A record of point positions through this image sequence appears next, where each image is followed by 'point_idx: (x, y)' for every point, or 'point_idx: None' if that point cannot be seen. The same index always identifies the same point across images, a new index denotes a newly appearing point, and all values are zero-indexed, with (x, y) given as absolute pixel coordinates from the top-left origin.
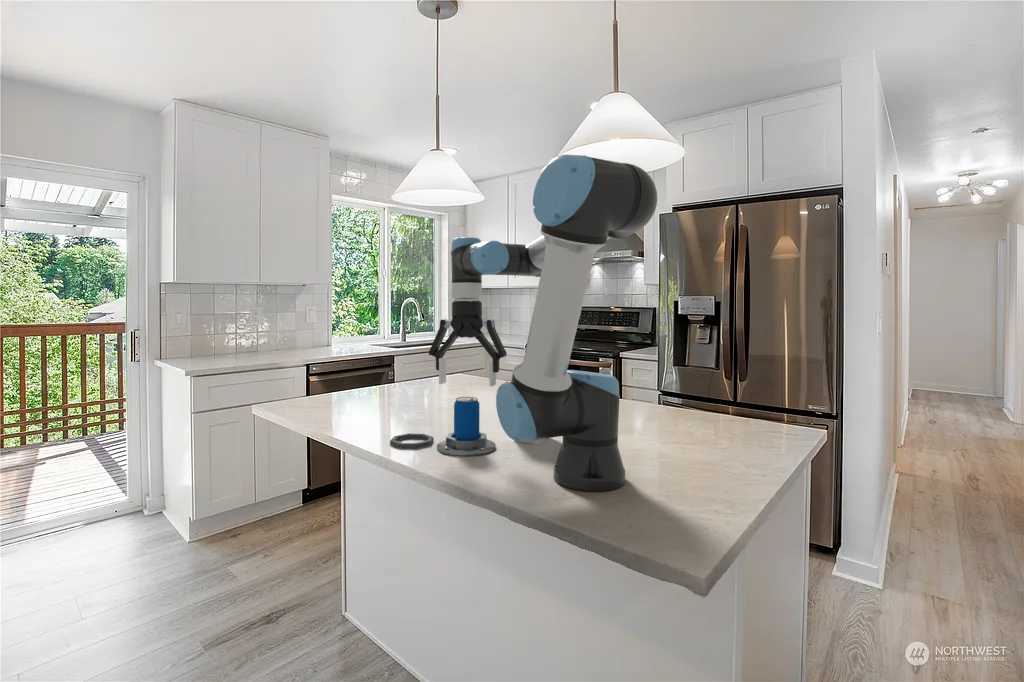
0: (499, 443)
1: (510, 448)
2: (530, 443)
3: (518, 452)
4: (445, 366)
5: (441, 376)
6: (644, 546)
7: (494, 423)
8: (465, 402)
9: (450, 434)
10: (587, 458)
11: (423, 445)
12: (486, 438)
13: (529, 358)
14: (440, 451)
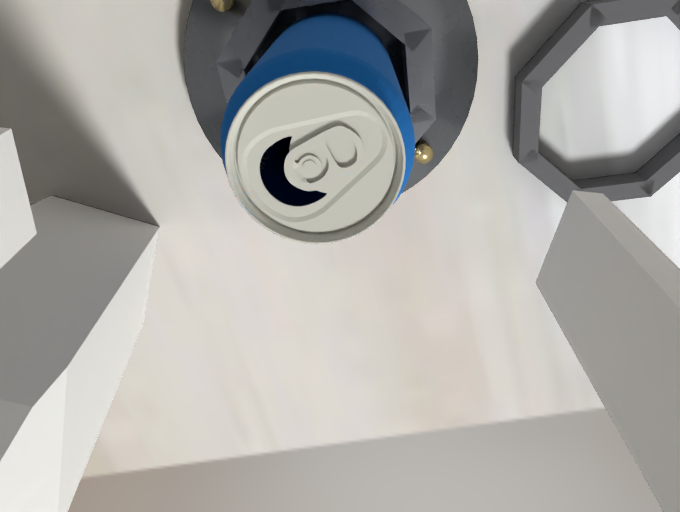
0: (208, 182)
1: (131, 115)
2: (78, 203)
3: (69, 57)
4: (613, 397)
5: (612, 229)
6: None
7: (318, 428)
8: (299, 72)
9: (420, 99)
10: None
11: (549, 44)
12: None
13: None
14: None
